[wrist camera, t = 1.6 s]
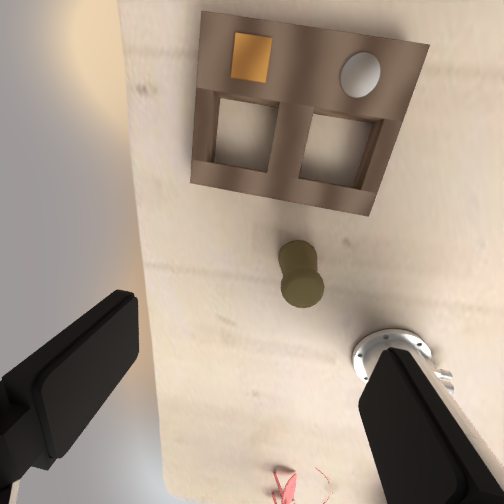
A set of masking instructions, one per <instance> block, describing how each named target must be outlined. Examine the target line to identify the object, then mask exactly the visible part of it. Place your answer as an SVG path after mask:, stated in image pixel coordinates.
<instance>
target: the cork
mask: <svg viewBox="0 0 504 504" xmlns="http://www.w3.org/2000/svg"><path fill="white" fill-rule="evenodd" d="M278 260H279V264H280V267H281V270H282V274H283V279H282V281H281V292H282V295H283V297H284V298H285V300H286V301H287V302H288V303H289V304H291V305H293V306H295V307H298V308H307V307H311V306H313V305H315V304H316V303H317V302H318V301H320V299H321V298H322V296H323V292H324V283H323V279H322V278H321V276H320V274H319V273H318V272H317V255H316V251H315V249H314V248H313V246H311V245H310V244H309V243H307V242H304V241H297V240H296V241H292V242H289V243H287V244H286V245H285V246H284V247H283V248H282V249H281V251H280V253H279V259H278Z"/></svg>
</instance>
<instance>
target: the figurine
mask: <svg viewBox="0 0 504 504" xmlns="http://www.w3.org/2000/svg"><path fill="white" fill-rule="evenodd" d="M316 469H317V468H316ZM317 470H318V469H317ZM318 471H319V470H318ZM320 472H321V471H320ZM321 473H322V472H321ZM322 474H323V473H322ZM323 475H324V474H323ZM324 476H325V475H324ZM274 477H275V480H276V482H277V485H278V488H279V491H280V493H281V496H282V501H281V503H282V504H290V503H291V501H292V499H293V496H294V492H295V488H296V473H295V474H294V475H293V476H292V477H291V478H290V479H289V480H288V482H287V484H286V486H285V488H284V491H283V492H282V489H281V486H280V484H279V481H278V478H277V476H276V473H274ZM326 479H327V478H326ZM327 480H328V479H327ZM329 480H330V479H329ZM328 482H329V481H328ZM329 484H330V483H329ZM330 494H331V493H330ZM272 497H273V500H274V503H275V504H277V502H276V499H275V496H274V494H272ZM329 497H330V496H329ZM328 499H329V498H328ZM328 499H327V500H328ZM324 503H325V502H324ZM324 503H323V504H324ZM294 504H295V503H294Z"/></svg>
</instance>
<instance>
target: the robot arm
mask: <svg viewBox="0 0 504 504" xmlns="http://www.w3.org/2000/svg"><path fill="white" fill-rule="evenodd" d="M138 353H139V327H138V299H137V298H136V297H135V296H134V293H132V292H128V291H123V290H115V291H114V292H113V293H111V294H110V295H109V296H107V297H106V298H105V299H103V300H102V301H101V302H99V303H98V304H97V305H96V306H94V307H93V308H92V309H90V310H89V311H88V312H86V313H85V314H84V315H83V316H81V317H80V318H79V319H77V320H76V321H75V322H73V323H72V324H71V325H69V326H68V327H67V328H66V329H64V330H63V331H62V332H60V333H59V334H58V335H56V336H55V337H54V338H52V339H51V340H50V341H48V342H47V343H46V344H45V345H43V346H42V347H41V348H39V349H38V350H37V351H36V352H34V353H33V354H32V355H30V356H29V357H28V358H26V359H25V360H24V361H22V362H21V363H20V364H18V365H17V366H16V367H14V368H13V369H12V370H11V371H9V372H8V373H7V374H5V375H4V376H3V377H2V380H1V381H0V504H16V501H17V495H18V489H19V483H20V478H21V477H22V476H23V475H24V474H25V472H26V471H27V470H28V469H29V468H30V467H31V466H32V467H37V468H40V469H44V470H49V468H50V467H51V466H52V464H53V463H54V462H55V460H56V459H57V458H62V457H63V456H64V455H65V454H66V453H67V452H68V450H69V449H70V448H71V446H72V445H73V444H74V442H75V441H76V440H77V438H78V437H79V436H80V434H81V433H82V432H83V430H84V429H85V428H86V426H87V425H88V424H89V422H90V421H91V419H92V418H93V417H94V415H95V414H96V413H97V411H98V410H99V409H100V407H101V406H102V405H103V403H104V402H105V401H106V399H107V398H108V397H109V395H110V394H111V393H112V391H113V390H114V388H115V387H116V386H117V384H118V383H119V382H120V380H121V379H122V378H123V376H124V375H125V374H126V372H127V371H128V370H129V368H130V367H131V366H132V364H133V363H134V362H135V360H136V358H137V356H138ZM431 360H432V356H431V352H430V349H429V347H428V346H427V345H426V343H425V342H424V341H423V340H422V339H421V338H420V337H419V336H417V335H416V334H414V333H411V332H409V331H406V330H401V329H386V330H381V331H377V332H375V333H372V334H370V335H368V336H367V337H365V338H364V339H363V340H361V341H360V342H359V343H358V345H357V346H356V347H355V349H354V351H353V356H352V363H353V366H354V369H355V371H356V373H357V375H358V376H359V377H360V378H361V379H362V380H363V381H365V382H366V383H367V384H366V386H365V389H364V391H363V393H362V395H361V397H360V399H359V404H358V407H359V412H360V416H361V419H362V422H363V425H364V429H365V432H366V435H367V438H368V441H369V445H370V448H371V451H372V454H373V458H374V461H375V464H376V467H377V471H378V474H379V477H380V480H381V483H382V487H383V490H384V493H385V496H386V500H387V503H388V504H504V467H503V466H502V464H501V463H500V461H499V460H498V459H497V457H496V456H495V455H494V453H493V452H492V451H491V449H490V448H489V446H488V445H487V444H486V442H485V441H484V440H483V438H482V437H481V435H480V434H479V433H478V431H477V430H476V429H475V427H474V426H473V424H472V423H471V422H470V420H469V419H468V418H467V416H466V415H465V413H464V412H463V411H462V409H461V408H460V407H459V405H458V404H457V402H456V401H455V400H454V398H453V397H452V396H451V394H453V392H454V387H453V385H452V384H451V383H450V382H447V381H442V380H440V379H439V378H442V379H446V380H451V379H452V374H451V372H450V371H446V370H441V369H440V370H439V369H437V368H436V367H435V366H434V364H433V363H432V362H431Z"/></svg>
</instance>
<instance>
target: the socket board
mask: <svg viewBox="0 0 504 504" xmlns="http://www.w3.org/2000/svg"><path fill="white" fill-rule="evenodd" d="M429 47H430V45H429V44H422V43H415V42H409V41H402V40H395V39H388V38H382V37H375V36H368V35H361V34H355V33H348V32H341V31H335V30H328V29H321V28H314V27H308V26H301V25H294V24H288V23H281V22H274V21H267V20H261V19H254V18H247V17H240V16H234V15H227V14H220V13H214V12H207V11H201V26H200V42H199V57H198V72H197V87H196V102H195V117H194V132H193V147H192V162H191V177H190V183H193V184H198V185H203V186H209V187H214V188H219V189H225V190H230V191H235V192H241V193H246V194H251V195H257V196H262V197H267V198H273V199H278V200H283V201H289V202H294V203H299V204H305V205H310V206H315V207H321V208H326V209H331V210H337V211H342V212H347V213H353V214H358V215H363V216H369V215H370V212H371V209H372V206H373V203H374V201H375V198H376V195H377V192H378V189H379V187H380V184H381V181H382V178H383V175H384V173H385V170H386V167H387V164H388V161H389V159H390V156H391V153H392V150H393V147H394V145H395V142H396V139H397V136H398V133H399V131H400V128H401V125H402V122H403V119H404V117H405V114H406V111H407V108H408V105H409V103H410V100H411V97H412V94H413V91H414V89H415V86H416V83H417V80H418V77H419V75H420V72H421V69H422V66H423V63H424V61H425V58H426V55H427V52H428V49H429ZM220 98H224V99H230V100H236V101H242V102H248V103H254V104H260V105H266V106H272V107H278V108H279V110H278V116H277V121H276V127H275V132H274V138H273V144H272V149H271V155H270V160H269V166H268V171H267V172H265V171H259V170H254V169H248V168H243V167H237V166H232V165H226V164H221V163H215V162H214V155H215V145H216V135H217V125H218V115H219V105H220ZM313 113H314V114H320V115H326V116H332V117H338V118H344V119H350V120H356V121H362V122H368V123H374V124H373V127H372V130H371V133H370V136H369V140H368V143H367V146H366V149H365V152H364V155H363V159H362V162H361V165H360V168H359V171H358V174H357V177H356V181H355V184H354V187H347V186H342V185H336V184H331V183H325V182H320V181H314V180H309V179H303V178H298V177H299V172H300V168H301V164H302V159H303V155H304V151H305V146H306V142H307V138H308V133H309V129H310V124H311V120H312V116H313Z"/></svg>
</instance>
